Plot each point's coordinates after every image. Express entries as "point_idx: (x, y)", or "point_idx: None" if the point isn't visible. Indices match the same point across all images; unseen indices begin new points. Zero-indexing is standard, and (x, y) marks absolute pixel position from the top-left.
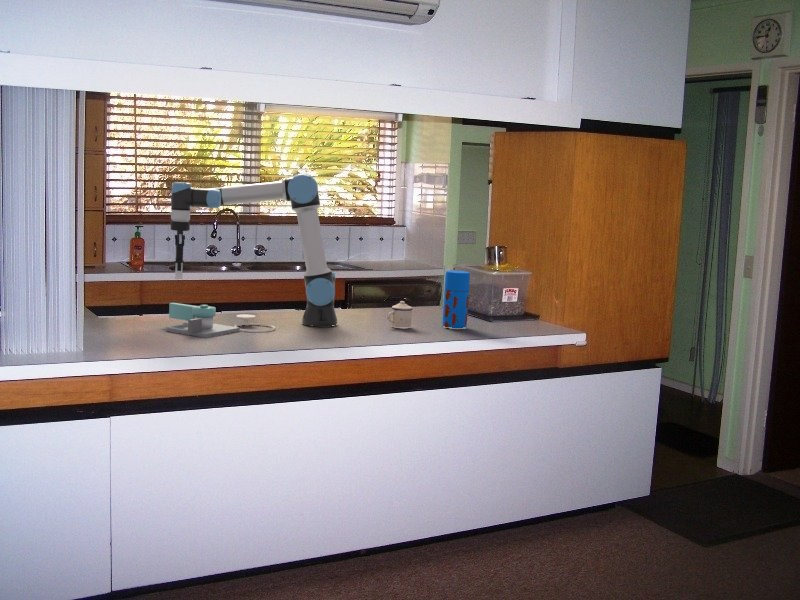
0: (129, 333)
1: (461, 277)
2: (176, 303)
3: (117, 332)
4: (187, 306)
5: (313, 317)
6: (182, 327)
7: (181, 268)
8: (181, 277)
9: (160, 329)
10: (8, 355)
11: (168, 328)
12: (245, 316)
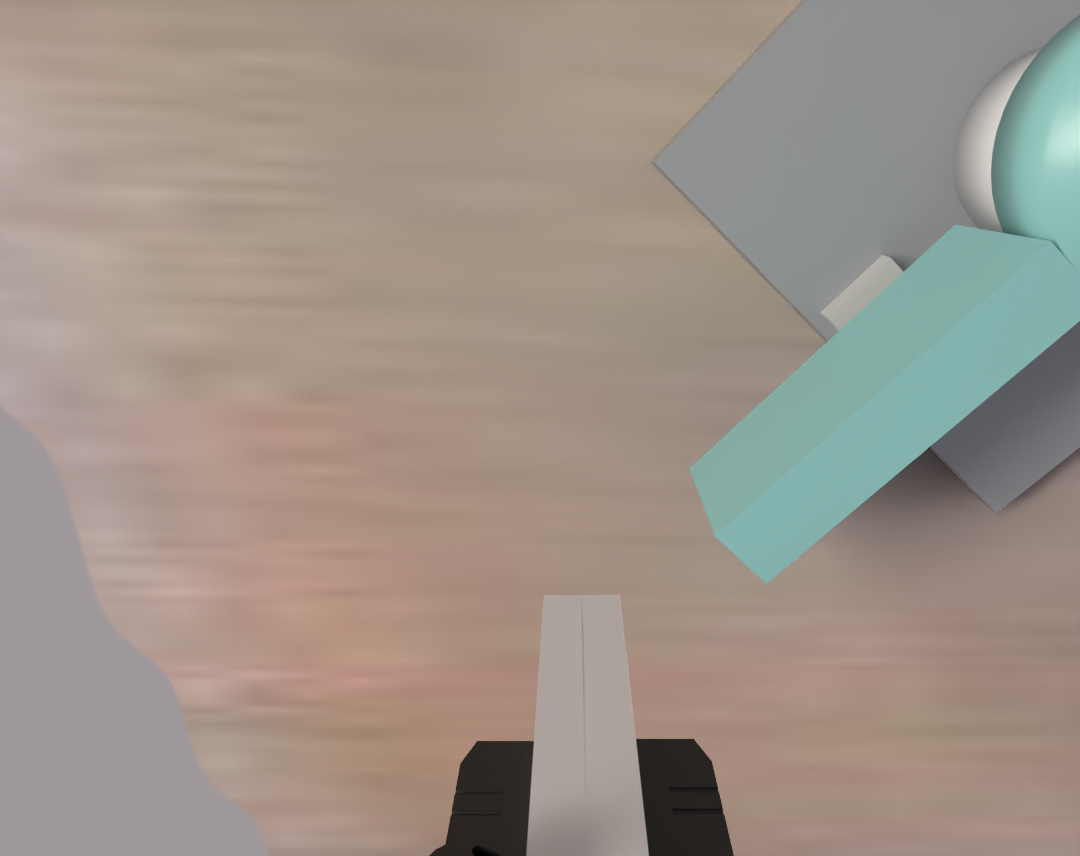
0: (1044, 760)
1: None
2: (786, 504)
3: (987, 833)
4: (1012, 373)
5: None
6: (1021, 370)
7: (634, 766)
8: (621, 623)
9: (879, 544)
10: None
11: (1012, 494)
12: None
